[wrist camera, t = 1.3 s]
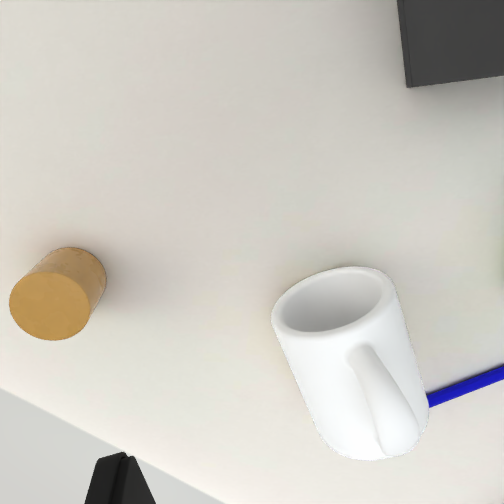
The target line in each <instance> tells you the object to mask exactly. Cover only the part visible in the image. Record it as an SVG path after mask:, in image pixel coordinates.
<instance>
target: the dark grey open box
mask: <svg viewBox="0 0 504 504" xmlns="http://www.w3.org/2000/svg"><path fill="white" fill-rule="evenodd" d="M397 3H398V12H399V21H400V30H401V39H402V48H403V57H404V66H405V75H406V84H407V88H411V87H419V86H427V85H435V84H442V83H450V82H458V81H465V80H473V79H481V78H488V77H496V76H504V0H397Z"/></svg>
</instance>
